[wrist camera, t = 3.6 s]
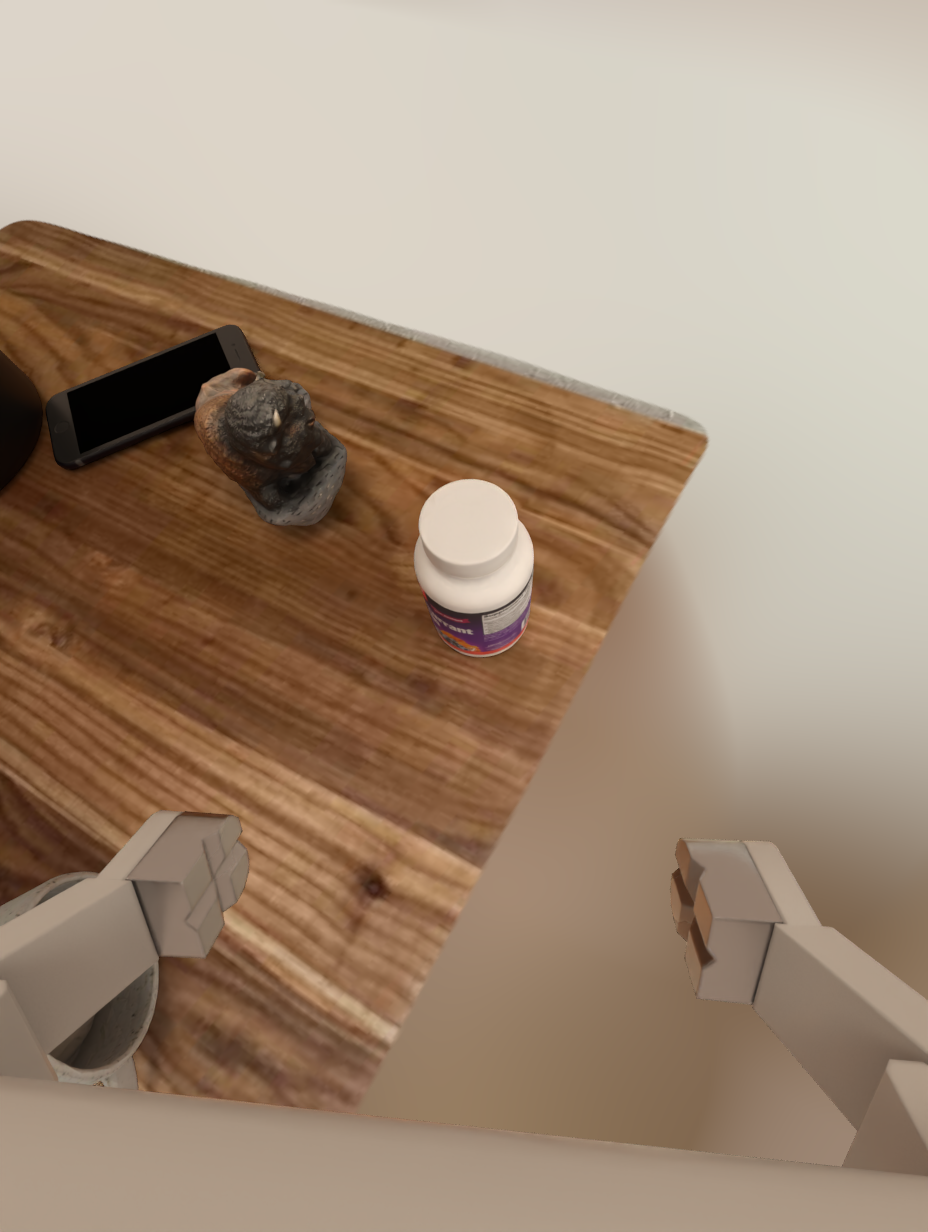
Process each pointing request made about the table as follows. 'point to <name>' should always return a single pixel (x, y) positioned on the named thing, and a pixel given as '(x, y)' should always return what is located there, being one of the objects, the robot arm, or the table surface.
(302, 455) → the bison figurine
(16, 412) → the mug
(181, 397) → the smartphone
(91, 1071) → the ceramic mug
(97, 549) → the table surface
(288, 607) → the table surface
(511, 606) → the pill bottle
